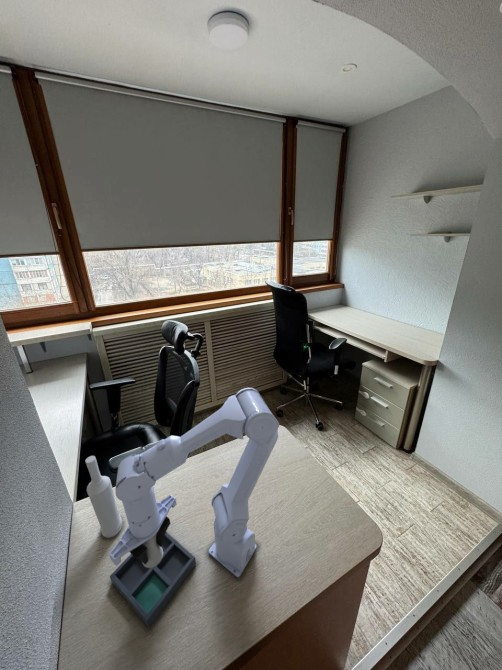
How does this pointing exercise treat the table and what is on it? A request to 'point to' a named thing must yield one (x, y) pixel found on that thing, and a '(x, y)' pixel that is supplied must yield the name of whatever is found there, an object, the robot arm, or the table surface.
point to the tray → (153, 579)
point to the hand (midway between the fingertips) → (151, 551)
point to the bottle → (103, 500)
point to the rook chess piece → (153, 552)
